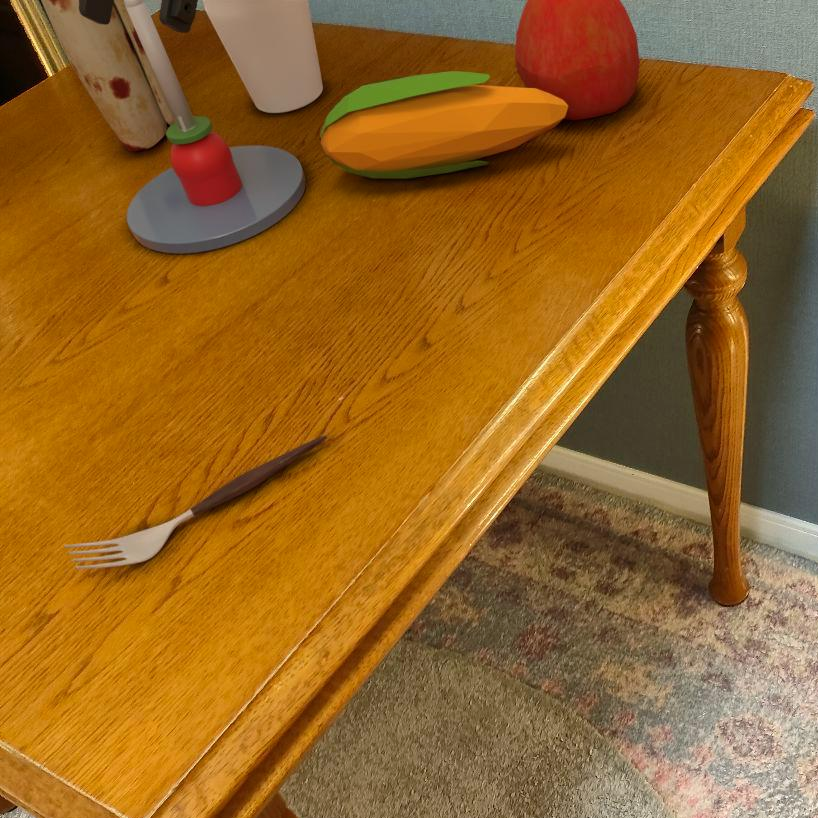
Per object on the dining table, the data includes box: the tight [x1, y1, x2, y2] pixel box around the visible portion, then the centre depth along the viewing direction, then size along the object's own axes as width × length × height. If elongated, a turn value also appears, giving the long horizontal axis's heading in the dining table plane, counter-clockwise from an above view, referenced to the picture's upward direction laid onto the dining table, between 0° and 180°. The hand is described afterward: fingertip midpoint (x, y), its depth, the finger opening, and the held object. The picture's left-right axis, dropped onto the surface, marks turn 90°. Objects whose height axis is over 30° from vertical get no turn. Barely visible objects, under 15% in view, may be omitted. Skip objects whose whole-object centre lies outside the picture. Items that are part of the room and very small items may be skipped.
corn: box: [319, 70, 568, 180], centre depth 79 cm, size 7×8×20 cm
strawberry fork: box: [124, 0, 242, 206], centre depth 77 cm, size 5×5×16 cm
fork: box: [64, 435, 328, 570], centre depth 59 cm, size 3×16×2 cm, turn 125°
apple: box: [514, 0, 641, 121], centre depth 82 cm, size 10×10×10 cm
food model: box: [40, 0, 176, 152], centre depth 87 cm, size 10×7×20 cm
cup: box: [202, 0, 324, 114], centre depth 91 cm, size 9×9×12 cm
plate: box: [126, 144, 307, 255], centre depth 84 cm, size 15×15×1 cm
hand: (132, 24), depth 72 cm, fingers open, 8 cm apart
